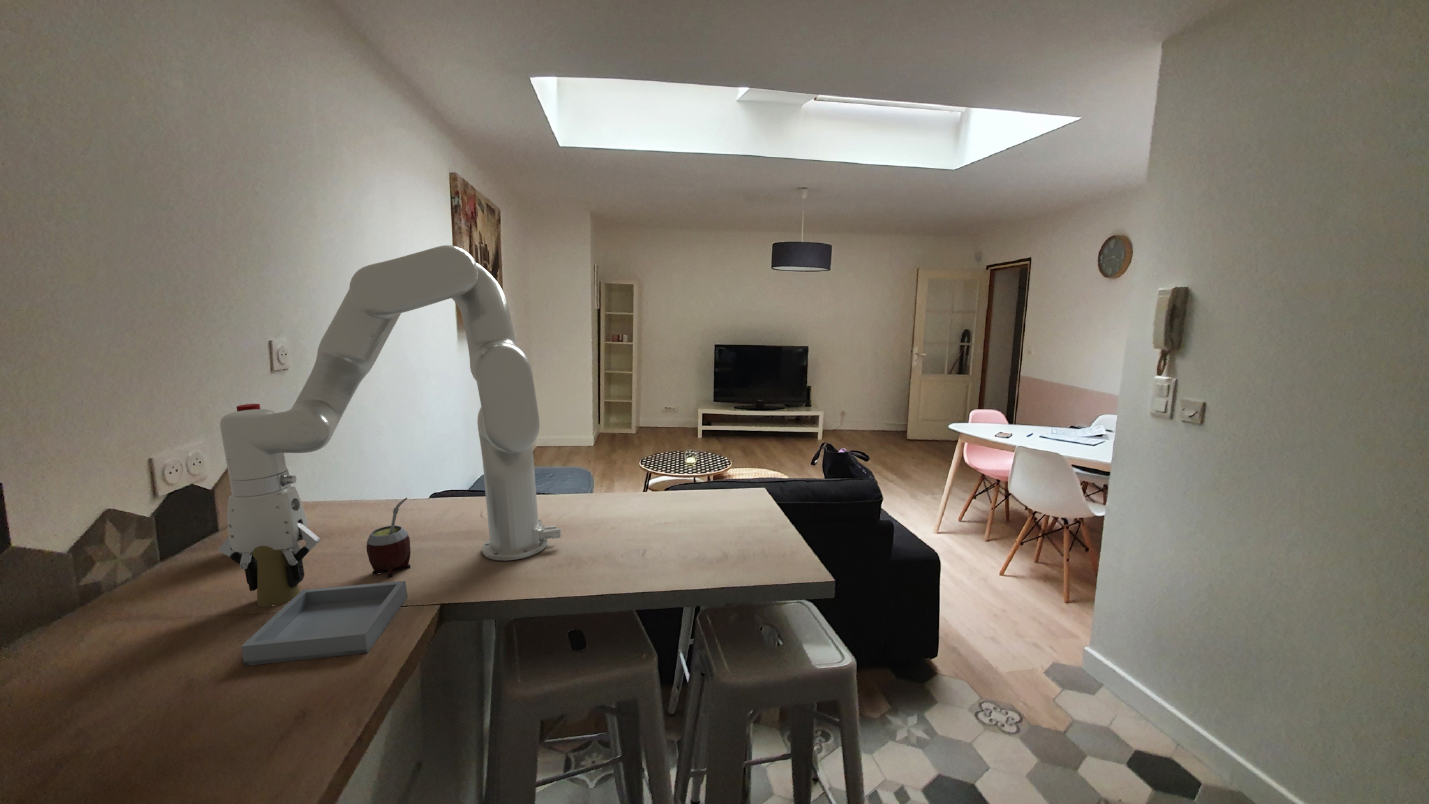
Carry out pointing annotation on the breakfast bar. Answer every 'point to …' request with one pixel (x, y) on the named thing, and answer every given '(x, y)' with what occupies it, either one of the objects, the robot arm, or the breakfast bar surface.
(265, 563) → the cork
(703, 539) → the breakfast bar surface
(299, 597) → the tray
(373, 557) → the mate gourd
